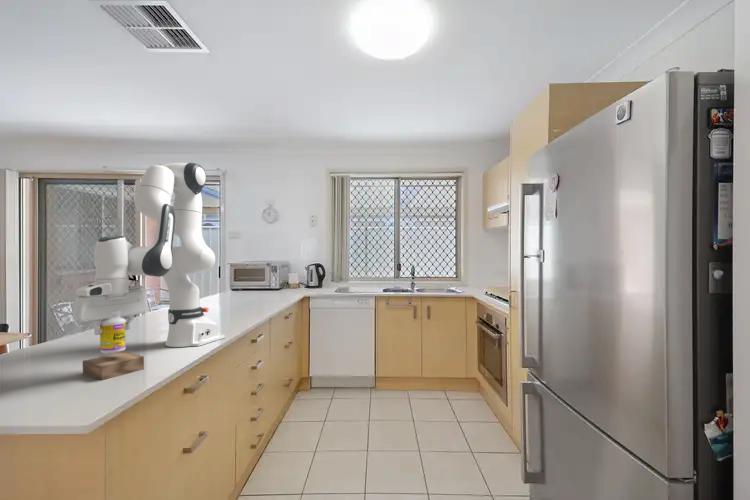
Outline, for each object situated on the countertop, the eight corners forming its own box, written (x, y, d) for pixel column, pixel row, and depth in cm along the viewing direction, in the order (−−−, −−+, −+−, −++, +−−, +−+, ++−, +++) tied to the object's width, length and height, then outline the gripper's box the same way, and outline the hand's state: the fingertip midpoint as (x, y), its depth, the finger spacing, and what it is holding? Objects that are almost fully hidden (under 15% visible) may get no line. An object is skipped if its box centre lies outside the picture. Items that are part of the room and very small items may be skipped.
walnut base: (124, 363, 132) (124, 351, 132) (143, 369, 125) (143, 356, 125) (82, 373, 121) (82, 360, 121) (101, 380, 115) (101, 366, 115)
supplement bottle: (113, 354, 119) (112, 312, 119) (94, 354, 121) (93, 312, 121) (131, 349, 126) (130, 308, 126) (113, 348, 127) (112, 308, 127)
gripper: (140, 284, 134) (141, 325, 134) (69, 290, 116) (70, 337, 116) (151, 285, 130) (152, 327, 130) (79, 291, 113) (80, 339, 113)
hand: (112, 332), depth 123 cm, fingers closed on supplement bottle, 7 cm apart
